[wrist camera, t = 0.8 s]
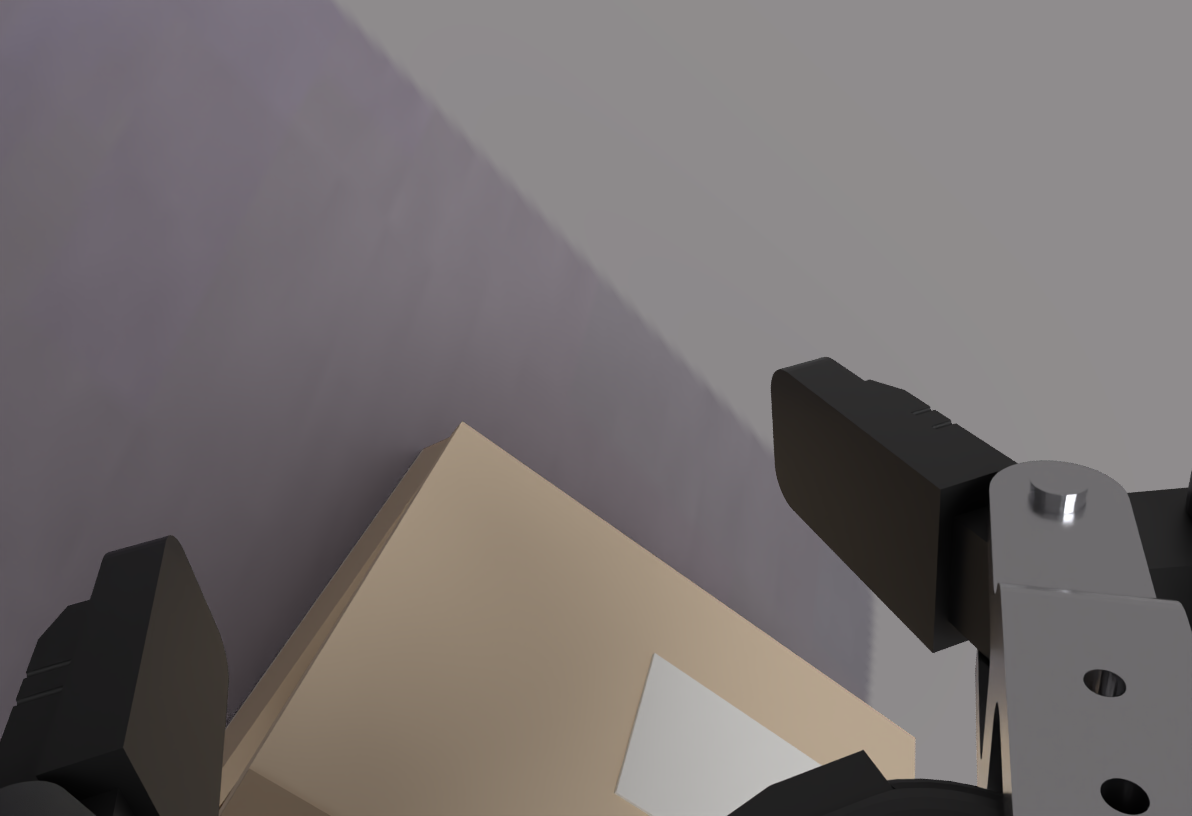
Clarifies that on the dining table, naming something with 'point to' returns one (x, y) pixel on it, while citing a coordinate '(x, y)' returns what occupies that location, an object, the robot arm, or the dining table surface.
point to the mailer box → (314, 629)
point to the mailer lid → (543, 675)
